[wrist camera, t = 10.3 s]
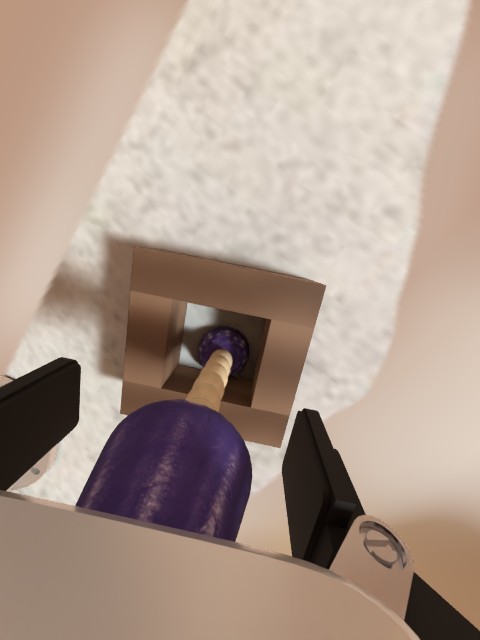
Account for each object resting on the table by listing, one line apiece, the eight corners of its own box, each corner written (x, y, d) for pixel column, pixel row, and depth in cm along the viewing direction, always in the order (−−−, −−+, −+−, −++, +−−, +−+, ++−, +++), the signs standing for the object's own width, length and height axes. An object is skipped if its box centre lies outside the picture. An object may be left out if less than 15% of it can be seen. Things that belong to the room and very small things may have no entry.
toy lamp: (183, 343, 20) (-84, 635, 4) (224, 307, 20) (98, 483, 3) (222, 384, 21) (125, 782, 5) (263, 349, 20) (321, 681, 4)
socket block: (276, 414, 22) (280, 448, 18) (144, 386, 22) (120, 413, 18) (311, 280, 19) (326, 285, 15) (159, 249, 19) (133, 246, 15)
